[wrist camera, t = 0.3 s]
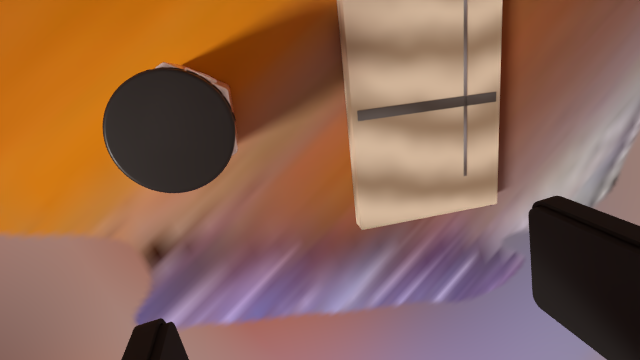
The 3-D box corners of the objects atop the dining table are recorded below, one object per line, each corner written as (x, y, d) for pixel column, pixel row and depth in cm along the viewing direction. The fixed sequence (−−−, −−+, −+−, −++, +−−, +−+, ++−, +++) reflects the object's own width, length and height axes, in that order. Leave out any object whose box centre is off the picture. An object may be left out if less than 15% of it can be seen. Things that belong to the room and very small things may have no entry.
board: (321, -173, 32) (327, -189, 30) (492, -174, 35) (508, -189, 33) (356, 222, 42) (362, 230, 40) (486, 198, 45) (497, 204, 43)
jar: (252, 92, 37) (260, 101, 25) (222, 170, 38) (216, 211, 27) (156, 51, 34) (117, 40, 23) (127, 136, 35) (77, 166, 24)
